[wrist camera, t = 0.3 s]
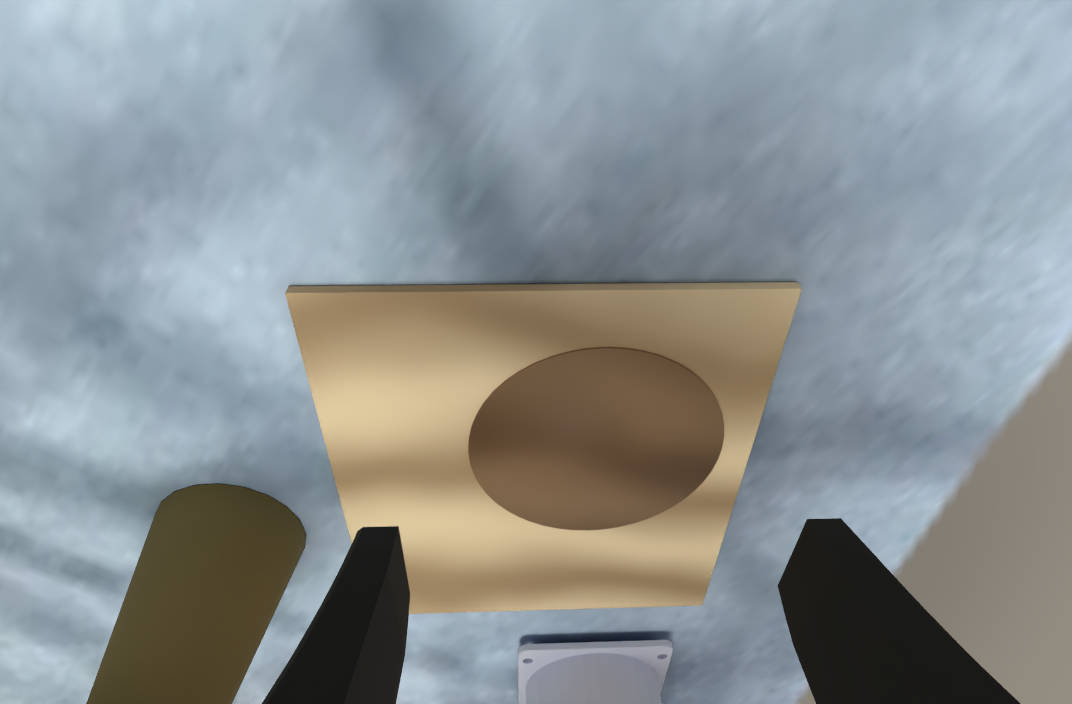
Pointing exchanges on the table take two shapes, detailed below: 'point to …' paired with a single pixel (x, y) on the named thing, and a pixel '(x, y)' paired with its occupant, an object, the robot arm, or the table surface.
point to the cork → (200, 597)
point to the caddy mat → (544, 431)
